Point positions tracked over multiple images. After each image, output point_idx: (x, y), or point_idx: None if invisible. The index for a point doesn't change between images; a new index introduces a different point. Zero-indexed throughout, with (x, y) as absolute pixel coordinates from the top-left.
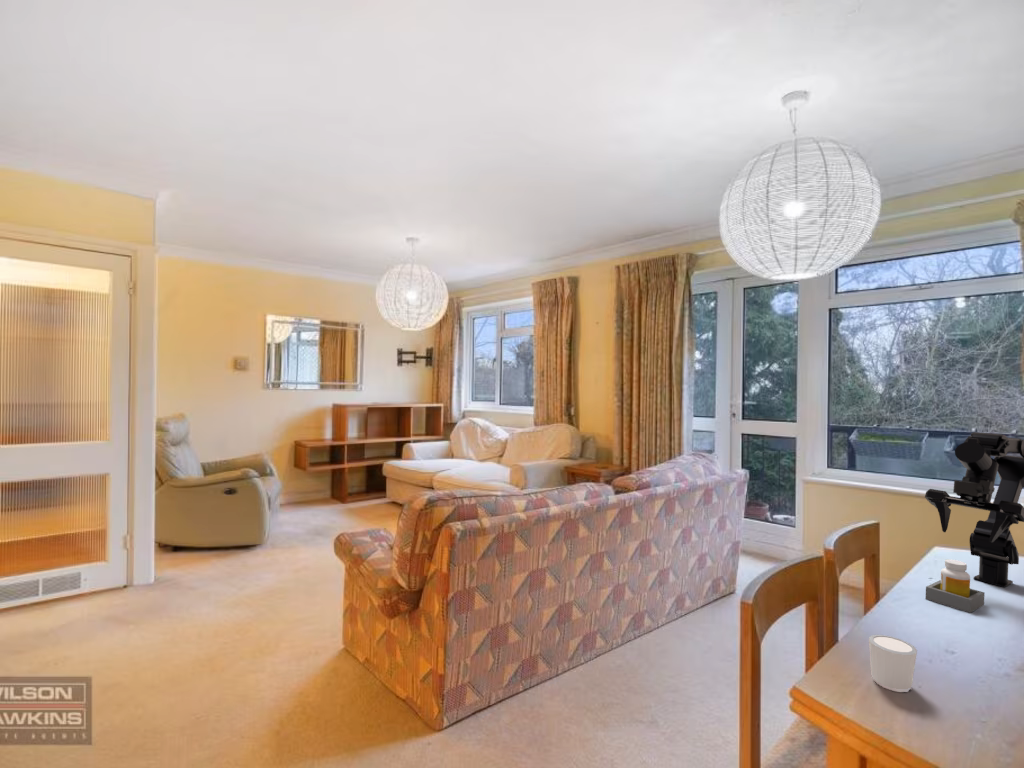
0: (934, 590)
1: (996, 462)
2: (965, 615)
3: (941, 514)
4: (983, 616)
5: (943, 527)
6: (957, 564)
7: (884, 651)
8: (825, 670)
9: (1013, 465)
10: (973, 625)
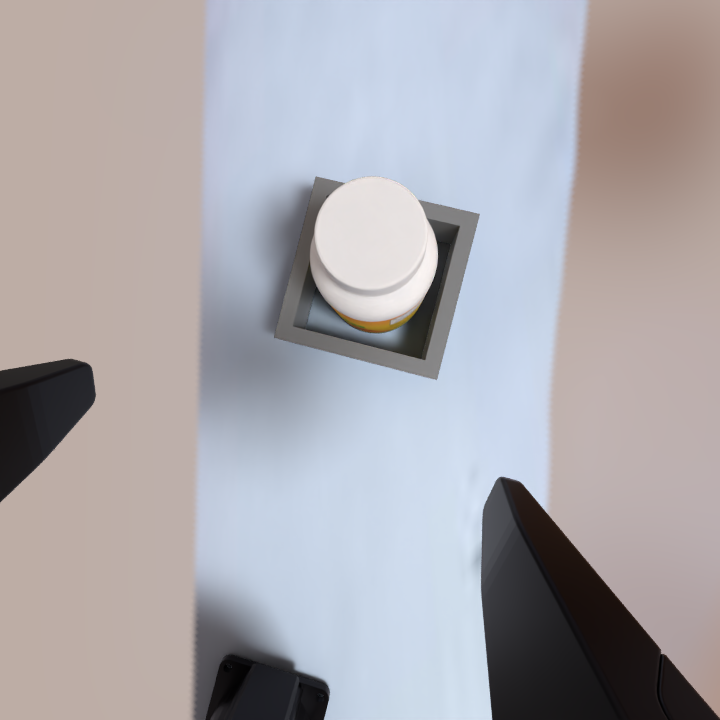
0: (445, 207)
1: None
2: (337, 159)
3: (682, 713)
4: (287, 200)
5: (523, 503)
6: (359, 178)
7: None
8: None
9: None
10: (311, 73)
